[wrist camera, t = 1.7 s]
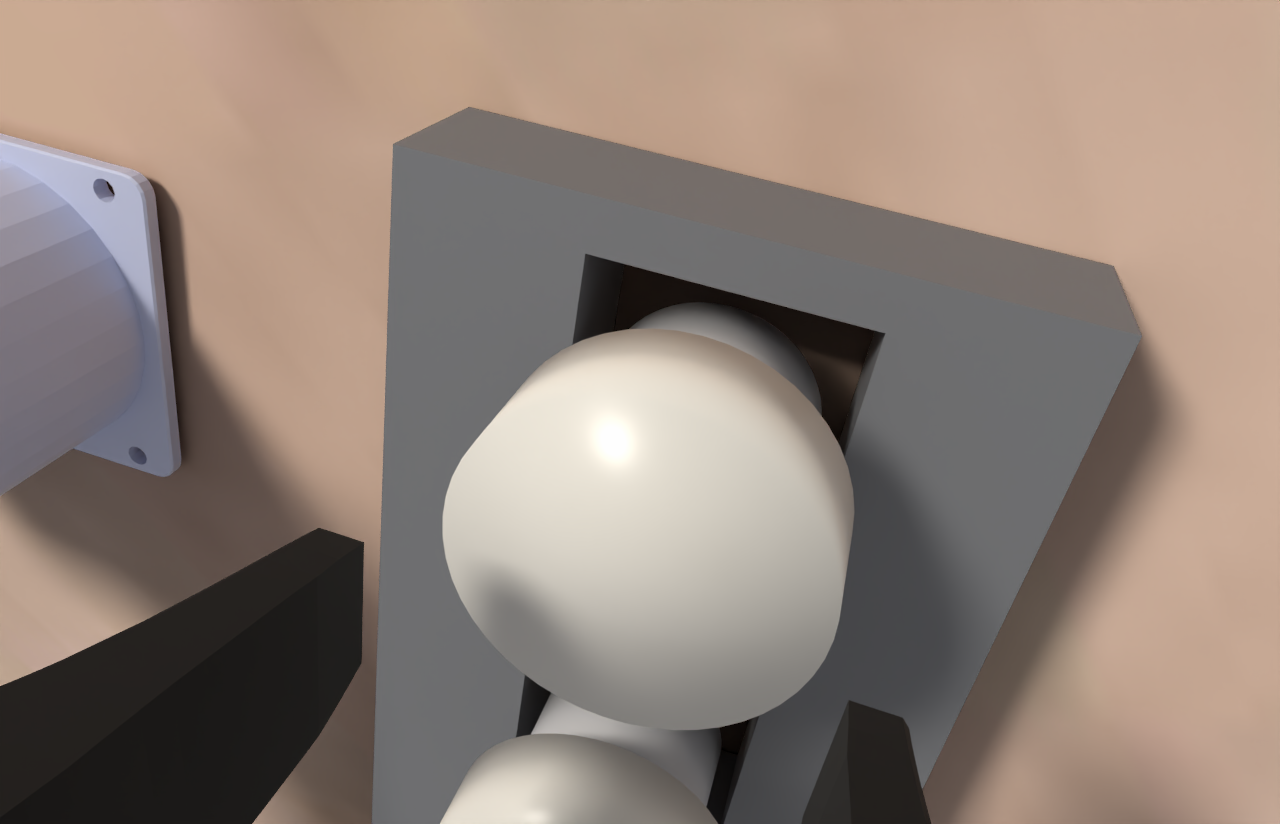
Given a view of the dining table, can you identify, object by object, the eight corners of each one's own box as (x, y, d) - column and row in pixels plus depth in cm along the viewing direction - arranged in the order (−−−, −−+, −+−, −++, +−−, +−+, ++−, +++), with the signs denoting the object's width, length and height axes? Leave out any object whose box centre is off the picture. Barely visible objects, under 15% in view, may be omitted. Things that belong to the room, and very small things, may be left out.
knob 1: (545, 487, 19) (432, 658, 15) (582, 220, 16) (455, 341, 12) (821, 571, 19) (783, 778, 14) (912, 306, 16) (896, 467, 11)
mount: (415, 865, 31) (367, 953, 28) (468, 106, 19) (393, 143, 16) (782, 1003, 29) (766, 1110, 27) (1113, 265, 17) (1142, 335, 14)
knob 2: (506, 767, 24) (410, 960, 20) (529, 596, 21) (423, 779, 17) (728, 845, 23) (678, 1065, 19) (785, 679, 20) (740, 894, 16)
